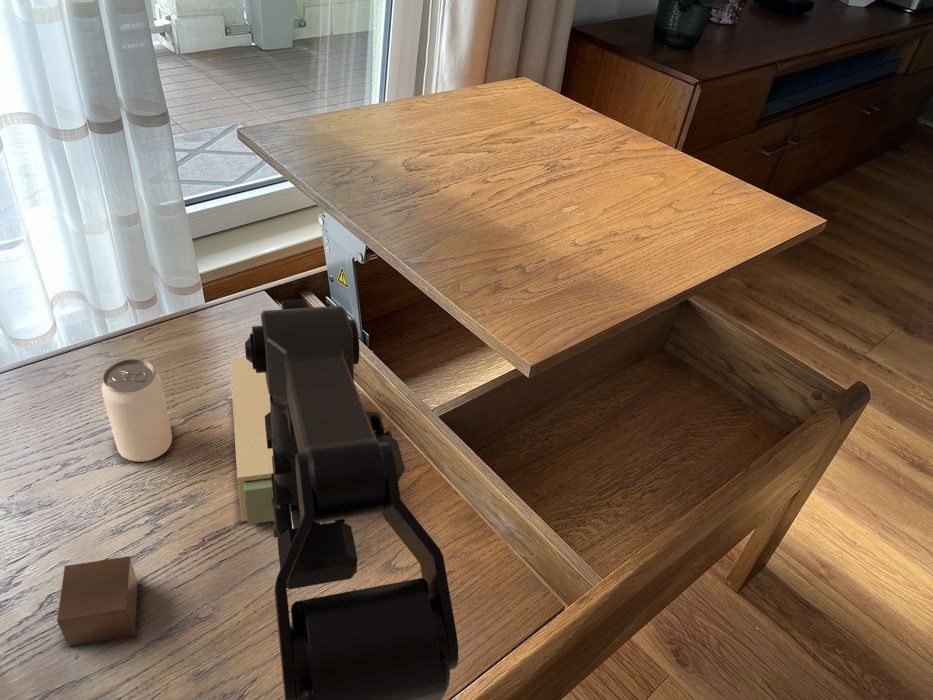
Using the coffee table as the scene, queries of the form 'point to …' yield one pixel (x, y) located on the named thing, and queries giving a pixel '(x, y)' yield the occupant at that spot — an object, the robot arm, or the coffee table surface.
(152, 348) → the coffee table surface
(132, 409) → the can
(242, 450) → the cabinet
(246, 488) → the drawer
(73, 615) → the brown cube
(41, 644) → the coffee table surface
